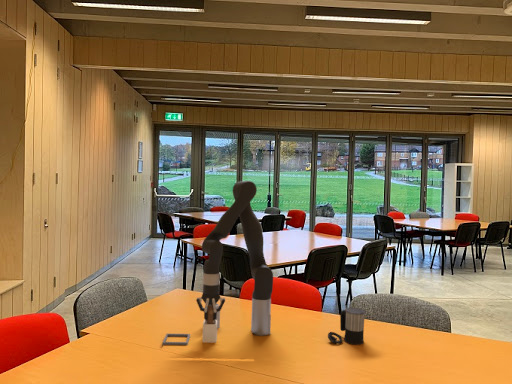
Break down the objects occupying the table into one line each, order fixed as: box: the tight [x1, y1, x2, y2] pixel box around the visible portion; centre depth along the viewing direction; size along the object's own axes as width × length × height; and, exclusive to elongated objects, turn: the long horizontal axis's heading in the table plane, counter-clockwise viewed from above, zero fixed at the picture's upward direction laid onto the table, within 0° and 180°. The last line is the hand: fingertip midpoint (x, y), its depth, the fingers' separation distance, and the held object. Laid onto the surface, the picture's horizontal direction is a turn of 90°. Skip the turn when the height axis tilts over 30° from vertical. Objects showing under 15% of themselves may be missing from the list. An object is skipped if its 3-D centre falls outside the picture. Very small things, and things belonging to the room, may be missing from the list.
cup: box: [201, 319, 218, 344], centre depth 202 cm, size 6×6×9 cm
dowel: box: [207, 305, 214, 324], centre depth 202 cm, size 3×3×16 cm
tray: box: [162, 333, 191, 347], centre depth 201 cm, size 11×11×2 cm
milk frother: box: [327, 307, 366, 345], centre depth 208 cm, size 14×16×15 cm
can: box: [204, 303, 221, 329], centre depth 220 cm, size 8×8×12 cm
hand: (210, 319), depth 202 cm, fingers closed on dowel, 3 cm apart
